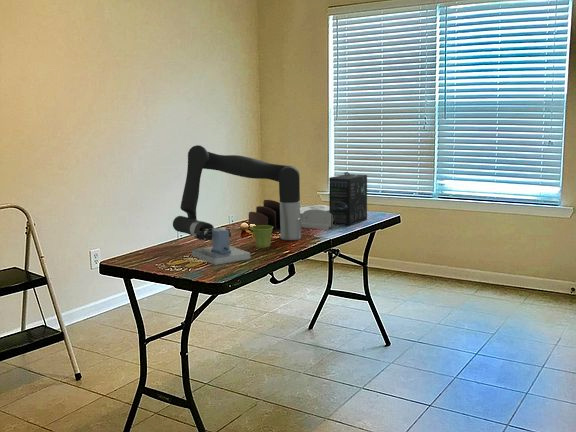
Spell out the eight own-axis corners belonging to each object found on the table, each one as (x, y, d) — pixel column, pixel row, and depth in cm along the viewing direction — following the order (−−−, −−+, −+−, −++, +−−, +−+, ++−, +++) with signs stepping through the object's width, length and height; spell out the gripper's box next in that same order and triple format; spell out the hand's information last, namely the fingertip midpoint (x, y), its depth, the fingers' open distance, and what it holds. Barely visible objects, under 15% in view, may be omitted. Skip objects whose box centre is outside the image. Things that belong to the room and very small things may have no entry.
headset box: (347, 217, 344) (347, 169, 339) (367, 219, 338) (368, 170, 333) (328, 224, 325) (328, 174, 320) (349, 226, 319) (349, 175, 314)
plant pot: (271, 249, 272) (271, 229, 270) (250, 248, 273) (249, 229, 272) (275, 244, 281) (275, 225, 279) (254, 244, 282) (254, 225, 281)
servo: (211, 255, 261) (210, 226, 259) (220, 253, 264) (219, 225, 261) (223, 259, 253) (222, 230, 251) (233, 258, 256) (232, 228, 254)
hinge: (298, 227, 320) (301, 207, 321) (302, 228, 324) (305, 209, 325) (328, 229, 312) (331, 209, 313) (332, 231, 316) (335, 211, 317)
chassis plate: (191, 255, 263) (191, 249, 262) (225, 250, 272) (225, 244, 271) (215, 265, 246) (214, 258, 246) (250, 258, 255) (250, 252, 255)
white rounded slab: (271, 218, 347) (271, 209, 347) (324, 213, 362) (323, 204, 361) (286, 224, 331) (286, 214, 330) (341, 218, 345) (341, 209, 344)
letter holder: (265, 225, 328) (264, 198, 325) (285, 231, 311) (284, 202, 308) (248, 227, 323) (247, 199, 320) (267, 233, 306) (266, 204, 303)
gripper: (186, 223, 265) (204, 229, 252) (216, 219, 273) (235, 225, 260) (187, 241, 267) (205, 247, 254) (217, 236, 275) (236, 243, 262)
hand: (220, 236), depth 257 cm, fingers open, 8 cm apart
